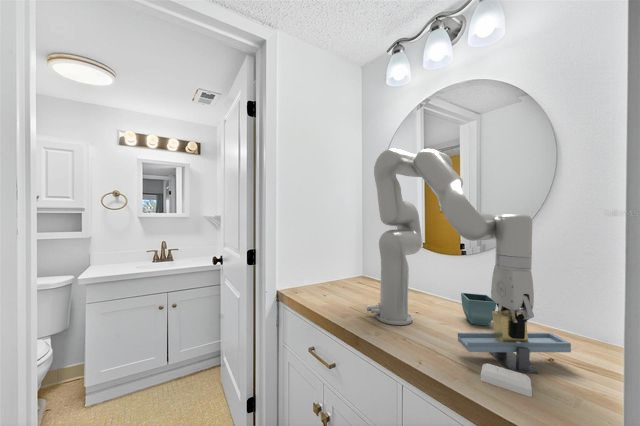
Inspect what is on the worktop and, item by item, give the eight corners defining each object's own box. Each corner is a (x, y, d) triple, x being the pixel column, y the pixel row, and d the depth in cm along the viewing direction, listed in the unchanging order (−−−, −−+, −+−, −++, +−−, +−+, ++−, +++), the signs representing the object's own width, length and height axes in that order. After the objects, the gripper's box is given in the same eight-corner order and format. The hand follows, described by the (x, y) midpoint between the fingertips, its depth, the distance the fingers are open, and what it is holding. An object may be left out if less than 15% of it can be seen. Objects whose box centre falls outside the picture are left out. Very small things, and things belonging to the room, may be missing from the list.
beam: (470, 353, 66) (469, 343, 66) (457, 340, 73) (456, 331, 73) (572, 353, 65) (572, 343, 65) (549, 340, 72) (549, 331, 72)
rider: (503, 345, 67) (500, 316, 67) (494, 338, 71) (491, 311, 71) (528, 343, 67) (525, 315, 67) (518, 336, 71) (515, 309, 71)
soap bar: (482, 372, 65) (483, 361, 65) (530, 387, 59) (530, 374, 59) (480, 382, 61) (480, 370, 61) (531, 399, 55) (531, 386, 55)
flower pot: (496, 329, 89) (497, 302, 90) (467, 326, 91) (468, 299, 91) (486, 319, 98) (486, 294, 98) (459, 316, 100) (460, 292, 100)
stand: (511, 372, 64) (512, 349, 64) (487, 351, 74) (488, 331, 74) (538, 373, 64) (538, 350, 64) (510, 352, 74) (510, 332, 74)
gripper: (480, 256, 78) (478, 320, 78) (520, 268, 61) (518, 349, 61) (507, 257, 77) (505, 322, 77) (554, 269, 61) (552, 351, 61)
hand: (511, 333), depth 69 cm, fingers closed on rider, 3 cm apart
